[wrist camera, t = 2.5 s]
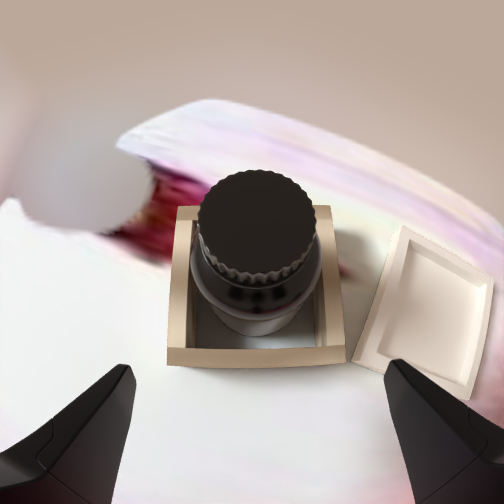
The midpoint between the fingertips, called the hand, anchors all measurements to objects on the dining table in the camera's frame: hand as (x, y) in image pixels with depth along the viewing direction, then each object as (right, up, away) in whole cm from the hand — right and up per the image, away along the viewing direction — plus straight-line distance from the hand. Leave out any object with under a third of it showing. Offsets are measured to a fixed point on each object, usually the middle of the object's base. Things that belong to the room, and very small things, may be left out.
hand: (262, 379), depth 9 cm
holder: (0, +1, +13) cm, 13 cm away
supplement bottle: (0, +1, +14) cm, 14 cm away
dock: (+15, -2, +12) cm, 20 cm away
